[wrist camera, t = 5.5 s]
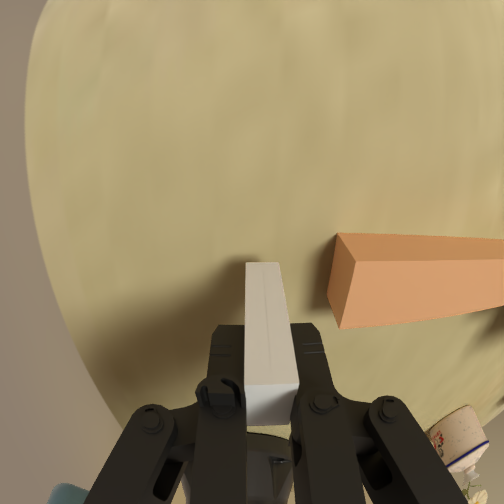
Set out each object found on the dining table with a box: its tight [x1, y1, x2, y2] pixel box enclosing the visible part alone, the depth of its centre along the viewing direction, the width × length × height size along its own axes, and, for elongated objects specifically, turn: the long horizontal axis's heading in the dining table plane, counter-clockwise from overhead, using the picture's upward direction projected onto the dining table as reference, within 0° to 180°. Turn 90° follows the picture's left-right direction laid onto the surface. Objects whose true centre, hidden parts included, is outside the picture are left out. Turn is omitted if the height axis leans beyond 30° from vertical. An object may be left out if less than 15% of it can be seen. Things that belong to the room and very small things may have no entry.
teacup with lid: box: [430, 405, 489, 474], centre depth 25 cm, size 12×9×12 cm
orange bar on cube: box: [327, 233, 504, 329], centre depth 12 cm, size 22×5×6 cm, turn 89°
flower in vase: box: [462, 470, 488, 504], centre depth 30 cm, size 13×11×25 cm
